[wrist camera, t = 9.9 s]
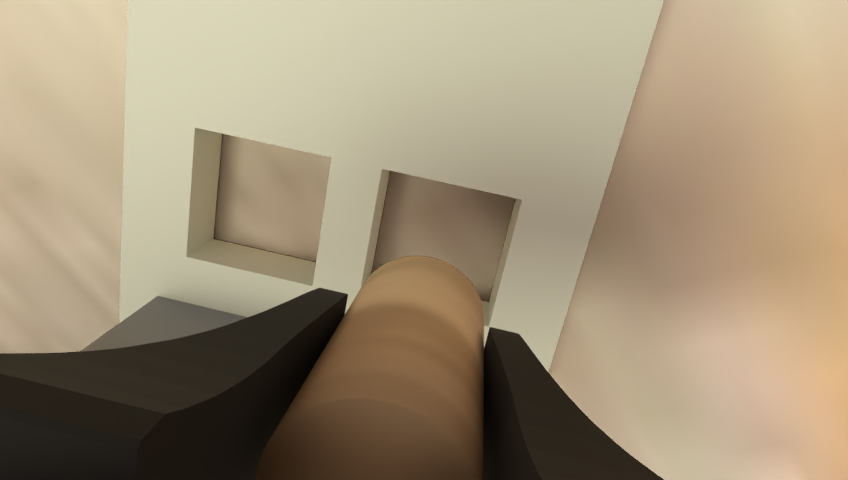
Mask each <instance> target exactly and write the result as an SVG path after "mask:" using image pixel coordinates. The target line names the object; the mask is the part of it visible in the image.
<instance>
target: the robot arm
mask: <svg viewBox="0 0 848 480" xmlns="http://www.w3.org/2000/svg"><path fill="white" fill-rule="evenodd" d="M347 298H348V294H346V293H341V292H337V291H333V290H328V289H324V288H317V289H314V290H312V291H309V292H307V293H305V294H302V295H300V296H298V297H296V298H294V299H291V300H289V301H287V302H284V303H282V304H280V305H278V306H275V307H273V308H271V309H268V310H266V311H263V312H261V313H258V314H255V315H253V316H250V317H247V318H245V319H242V320H239V321H236V322H234V323H231V324H228V325H225V326H222V327H219V328H216V329H212V330H209V331H205V332H201V333H197V334H193V335H189V336H185V337H181V338H177V339H172V340H166V341H160V342H154V343H148V344H142V345H136V346H130V347H123V348H115V349H105V350H96V351H82V352H67V353H25V354H0V480H256V474H257V467H258V464H259V461H260V457H261V455H262V453H263V451H264V448H265V446H266V444H267V443H268V441H269V439H270V438H271V436H272V434H273V433H274V431H275V429H276V428H277V426H278V424H279V423H280V421H281V419H282V418H283V416H284V415H285V413H286V411H287V410H288V408H289V406H290V405H291V403H292V401H293V400H294V398H295V396H296V395H297V393H298V391H299V390H300V388H301V386H302V385H303V383H304V381H305V380H306V378H307V376H308V375H309V373H310V371H311V370H312V368H313V366H314V365H315V363H316V362H317V360H318V358H319V357H320V355H321V353H322V352H323V350H324V348H325V347H326V345H327V343H328V342H329V340H330V338H331V337H332V335H333V333H334V332H335V330H336V328H337V327H338V325H339V323H340V322H341V320H342V318H343V317H344V315H345V310H346V304H347ZM483 480H664V479H662V478H661V477H659V476H658V475H656V474H655V473H654V472H652V471H651V470H650V469H648V468H647V467H646V466H644V465H643V464H642V463H640V462H639V461H638V460H636V459H635V458H634V457H632V456H631V455H630V454H628V453H627V452H626V451H625V450H624V449H622V448H621V447H620V446H619V445H617V444H616V443H615V442H614V441H613V440H612V439H611V438H610V437H608V436H607V435H606V434H605V433H604V432H603V431H602V430H601V429H600V428H598V427H597V426H596V425H595V424H594V423H593V422H592V421H591V420H590V419H589V418H588V417H587V416H586V415H585V414H584V413H583V412H582V411H581V410H580V409H579V408H578V407H577V405H576V404H575V403H574V402H573V401H572V400H571V399H570V398H569V397H568V396H567V395H566V393H565V392H564V391H563V390H562V389H561V388H560V386H559V385H558V384H557V383H556V382H555V380H554V379H553V378H552V377H551V375H550V374H549V373H548V372H547V370H546V369H545V368H544V366H543V365H542V364H541V362H540V361H539V360H538V358H537V357H536V356H535V354H534V353H533V352H532V350H531V349H530V347H529V346H528V345H527V343H526V342H525V341H524V339H523V338H522V337H521V336H520V334H518V333H514V332H510V331H505V330H501V329H497V328H493V327H490V328H489V332H488V335H487V339H486V343H485V347H484V434H483Z"/></svg>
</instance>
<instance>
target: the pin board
mask: <svg viewBox="0 0 848 480" xmlns="http://www.w3.org/2000/svg"><path fill="white" fill-rule="evenodd" d="M663 2H664V0H128V8H127V45H126V82H125V119H124V157H123V194H122V231H121V268H120V306H119V323H120V322H122V321H123V320H125V319H126V318H127V317H129V316H130V315H132V314H133V313H134V312H136V311H137V310H139V309H140V308H141V307H143V306H144V305H145V304H147V303H148V302H150V301H151V300H152V299H154V298H155V297H157V296H161V297H165V298H169V299H173V300H178V301H182V302H186V303H190V304H194V305H199V306H203V307H207V308H211V309H215V310H220V311H224V312H228V313H232V314H236V315H240V316H245V317H250V316H253V315H255V314H258V313H261V312H263V311H266V310H268V309H271V308H273V307H275V306H278V305H280V304H282V303H284V302H287V301H289V300H291V299H294V298H296V297H298V296H300V295H302V294H305V293H307V292H309V291H312V290H314V289H317V288H324V289H328V290H333V291H337V292H341V293H346V294H348V298H347V304H346V310H345V313H346V312H347V310H348V309H349V307H350V305H351V304H352V302H353V300H354V299H355V297H356V295H357V294H358V292H359V290H360V289H361V287H362V285H363V284H364V282H365V281H366V280H367V278H368V277H369V276H370V275H371V272H372V267H373V261H374V256H375V250H376V245H377V239H378V234H379V228H380V223H381V217H382V212H383V206H384V201H385V195H386V190H387V184H388V179H389V173H390V171H394V172H399V173H403V174H408V175H412V176H417V177H421V178H426V179H430V180H435V181H439V182H444V183H448V184H453V185H457V186H462V187H466V188H471V189H476V190H480V191H485V192H489V193H494V194H498V195H503V196H507V197H512V198H516V200H515V204H514V207H513V211H512V215H511V219H510V223H509V227H508V231H507V234H506V238H505V242H504V246H503V250H502V254H501V258H500V261H499V265H498V269H497V273H496V277H495V281H494V284H493V288H492V292H491V296H490V300H489V302H487V301H482V300H481V302H482V305H483V311H484V347H485V343H486V339H487V335H488V332H489V328H490V327H493V328H497V329H501V330H505V331H510V332H514V333H518V334H520V336H521V337H522V338H523V339H524V341H525V342H526V343H527V345H528V346H529V347H530V349H531V350H532V352H533V353H534V354H535V356H536V357H537V358H538V360H539V361H540V362H541V364H542V365H543V366H544V368H545V369H546V370H547V372H549V369H550V366H551V362H552V359H553V356H554V353H555V350H556V346H557V343H558V340H559V337H560V334H561V330H562V327H563V324H564V321H565V317H566V314H567V311H568V308H569V305H570V301H571V298H572V295H573V292H574V288H575V285H576V282H577V279H578V276H579V272H580V269H581V266H582V263H583V260H584V256H585V253H586V250H587V247H588V243H589V240H590V237H591V234H592V231H593V227H594V224H595V221H596V218H597V214H598V211H599V208H600V205H601V202H602V198H603V195H604V192H605V189H606V186H607V182H608V179H609V176H610V173H611V169H612V166H613V163H614V160H615V157H616V153H617V150H618V147H619V144H620V140H621V137H622V134H623V131H624V128H625V124H626V121H627V118H628V115H629V112H630V108H631V105H632V102H633V99H634V95H635V92H636V89H637V86H638V83H639V79H640V76H641V73H642V70H643V66H644V63H645V60H646V57H647V54H648V50H649V47H650V44H651V41H652V38H653V34H654V31H655V28H656V25H657V21H658V18H659V15H660V12H661V9H662V5H663ZM222 134H226V135H231V136H236V137H240V138H245V139H249V140H254V141H258V142H263V143H267V144H272V145H276V146H281V147H285V148H290V149H294V150H299V151H303V152H308V153H313V154H317V155H322V156H326V157H331V164H330V171H329V177H328V184H327V191H326V198H325V205H324V211H323V218H322V225H321V232H320V239H319V245H318V252H317V259H316V262H312V261H308V260H303V259H299V258H295V257H290V256H286V255H281V254H277V253H273V252H268V251H264V250H260V249H255V248H251V247H247V246H242V245H238V244H233V243H229V242H225V241H220V240H216V239H214V227H215V215H216V203H217V190H218V178H219V166H220V154H221V142H222Z"/></svg>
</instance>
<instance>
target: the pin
mask: <svg viewBox="0 0 848 480" xmlns="http://www.w3.org/2000/svg"><path fill="white" fill-rule="evenodd" d="M483 434H484V311H483V305H482V302H481V299H480V297H479V294H478V292H477V290H476V289H475V287H474V286H473V284H472V283H471V282H470V280H469V279H468V278H467V277H466V276H465V275H464V274H463V273H462V272H461V271H459V270H458V269H456V268H455V267H454V266H452V265H450V264H448V263H446V262H444V261H441V260H439V259H435V258H431V257H425V256H408V257H402V258H398V259H395V260H392V261H390V262H388V263H386V264H384V265H382V266H381V267H379V268H378V269H377V270H375V271H374V272H373V273H372V274H371V275H370V276H369V277H368V278H367V280H366V281H365V282H364V284H363V285H362V287H361V289H360V290H359V292H358V294H357V295H356V297H355V299H354V300H353V302H352V304H351V305H350V307H349V309H348V310H347V312H346V313H345V315H344V317H343V318H342V320H341V322H340V323H339V325H338V327H337V328H336V330H335V332H334V333H333V335H332V337H331V338H330V340H329V342H328V343H327V345H326V347H325V348H324V350H323V352H322V353H321V355H320V357H319V358H318V360H317V362H316V363H315V365H314V366H313V368H312V370H311V371H310V373H309V375H308V376H307V378H306V380H305V381H304V383H303V385H302V386H301V388H300V390H299V391H298V393H297V395H296V396H295V398H294V400H293V401H292V403H291V405H290V406H289V408H288V410H287V411H286V413H285V415H284V416H283V418H282V419H281V421H280V423H279V424H278V426H277V428H276V429H275V431H274V433H273V434H272V436H271V438H270V439H269V441H268V443H267V444H266V446H265V448H264V451H263V453H262V455H261V457H260V461H259V464H258V467H257V474H256V480H483Z"/></svg>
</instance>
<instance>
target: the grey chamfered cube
mask: <svg viewBox="0 0 848 480" xmlns="http://www.w3.org/2000/svg"><path fill="white" fill-rule="evenodd" d="M245 318H247V317H245V316H240V315H236V314H232V313H228V312H224V311H220V310H215V309H211V308H207V307H203V306H199V305H194V304H190V303H186V302H182V301H178V300H173V299H169V298H165V297H161V296H157V297H155V298H154V299H152V300H151V301H150V302H148V303H147V304H145V305H144V306H143V307H141V308H140V309H139V310H137V311H136V312H134V313H133V314H132V315H130V316H129V317H127V318H126V319H125V320H123V321H122V322H120V323H119V324H118V325H116V326H115V327H114V328H112V329H111V330H109V331H108V332H107V333H105V334H104V335H102V336H101V337H100V338H98V339H97V340H96V341H94V342H93V343H91V344H90V345H89V346H87V347H86V348H84V349H83V350H82V351H96V350H105V349H115V348H123V347H130V346H136V345H142V344H148V343H154V342H160V341H166V340H172V339H177V338H181V337H185V336H189V335H193V334H197V333H201V332H205V331H209V330H212V329H216V328H219V327H222V326H225V325H228V324H231V323H234V322H236V321H239V320H242V319H245ZM82 351H80V352H82Z"/></svg>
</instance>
